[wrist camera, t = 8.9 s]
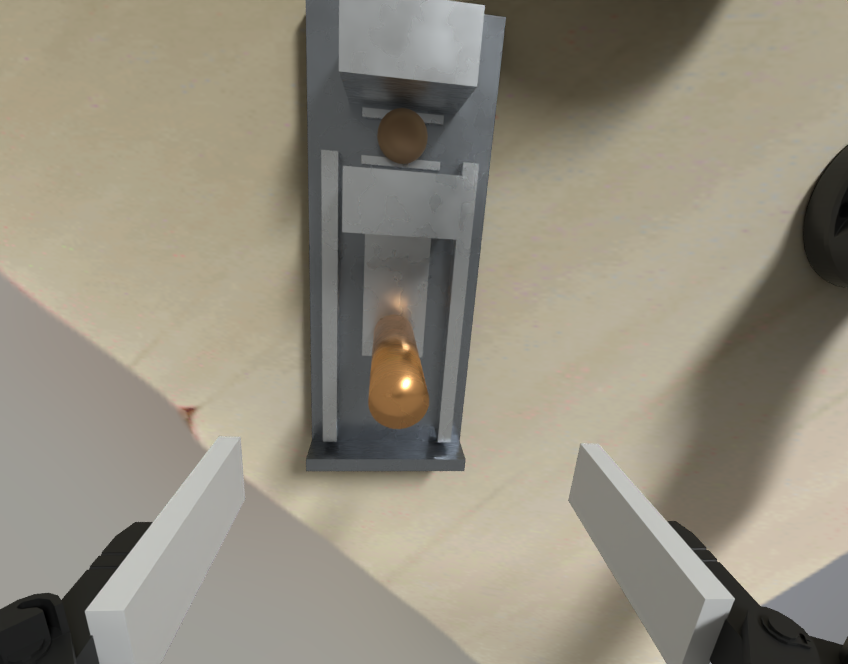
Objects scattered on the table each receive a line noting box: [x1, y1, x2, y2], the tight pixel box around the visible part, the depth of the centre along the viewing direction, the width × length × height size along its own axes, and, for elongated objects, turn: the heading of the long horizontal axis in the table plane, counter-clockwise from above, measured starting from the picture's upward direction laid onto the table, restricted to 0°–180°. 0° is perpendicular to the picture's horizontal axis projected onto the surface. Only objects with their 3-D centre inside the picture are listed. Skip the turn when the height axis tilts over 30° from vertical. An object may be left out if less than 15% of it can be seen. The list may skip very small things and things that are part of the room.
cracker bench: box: [306, 0, 506, 471], centre depth 30 cm, size 36×14×9 cm, turn 176°
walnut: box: [377, 108, 428, 164], centre depth 28 cm, size 4×4×4 cm
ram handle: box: [342, 166, 463, 429], centre depth 26 cm, size 14×8×14 cm, turn 176°
